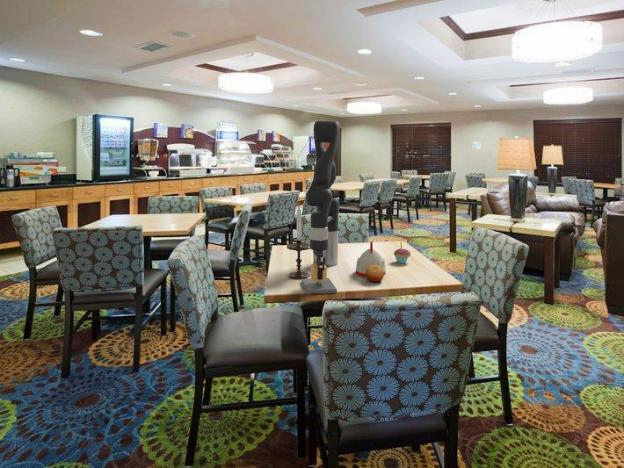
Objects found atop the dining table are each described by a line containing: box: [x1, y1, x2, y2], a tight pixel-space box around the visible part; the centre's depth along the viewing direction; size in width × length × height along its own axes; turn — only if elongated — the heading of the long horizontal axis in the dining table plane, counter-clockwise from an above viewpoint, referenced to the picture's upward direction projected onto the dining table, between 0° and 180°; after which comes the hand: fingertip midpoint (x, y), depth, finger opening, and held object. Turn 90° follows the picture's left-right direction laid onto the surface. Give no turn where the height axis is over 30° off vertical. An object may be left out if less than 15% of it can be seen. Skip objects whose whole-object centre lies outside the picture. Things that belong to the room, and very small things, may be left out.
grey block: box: [301, 277, 338, 294], centre depth 181 cm, size 16×12×6 cm
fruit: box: [365, 265, 385, 283], centre depth 190 cm, size 8×8×8 cm
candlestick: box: [286, 201, 311, 280], centre depth 193 cm, size 11×11×35 cm
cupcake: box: [393, 239, 412, 264], centre depth 221 cm, size 9×8×12 cm
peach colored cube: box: [310, 263, 328, 282], centre depth 180 cm, size 6×6×6 cm
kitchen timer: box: [355, 241, 387, 278], centre depth 201 cm, size 14×14×15 cm
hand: (318, 277), depth 180 cm, fingers closed on peach colored cube, 5 cm apart
